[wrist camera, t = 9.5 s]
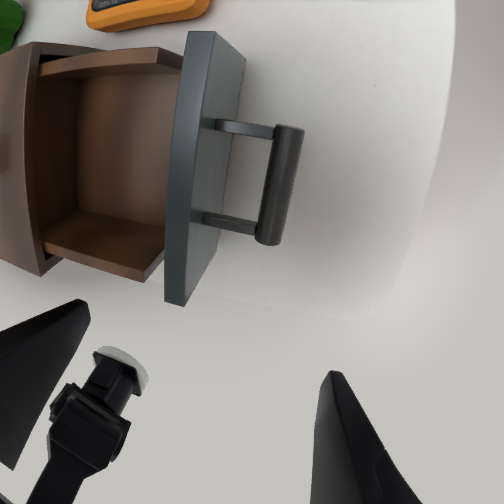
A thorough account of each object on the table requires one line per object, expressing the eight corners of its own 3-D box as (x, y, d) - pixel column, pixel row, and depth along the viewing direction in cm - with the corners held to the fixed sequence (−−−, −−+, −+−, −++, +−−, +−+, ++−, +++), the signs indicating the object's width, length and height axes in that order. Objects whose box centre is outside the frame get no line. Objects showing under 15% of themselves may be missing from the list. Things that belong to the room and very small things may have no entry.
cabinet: (116, 52, 16) (32, 41, 8) (106, 226, 23) (40, 277, 15) (16, 72, 17) (-51, 81, 9) (16, 204, 24) (-40, 238, 16)
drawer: (315, 70, 15) (323, 45, 9) (273, 263, 21) (261, 326, 15) (86, 61, 16) (20, 58, 10) (80, 219, 22) (27, 255, 16)
